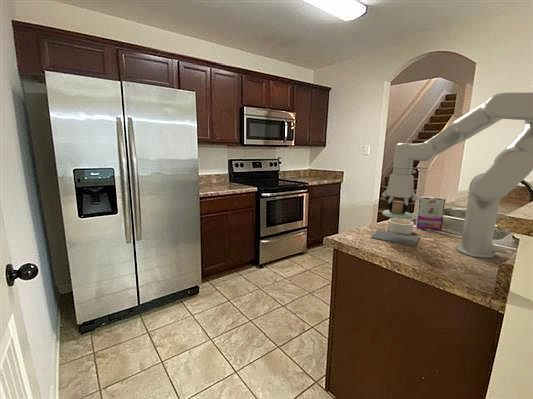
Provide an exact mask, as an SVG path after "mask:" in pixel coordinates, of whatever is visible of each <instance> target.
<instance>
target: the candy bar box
mask: <svg viewBox="0 0 533 399" xmlns="http://www.w3.org/2000/svg"><path fill="white" fill-rule="evenodd" d="M445 204H446V198H444V197H443V196H442V197H441V196H428V195H427V196H425V195H424V196H423V195H418V199H417V210H416V219H415V227H416V229H419V228H420V230H428V229H430V231H431V230H432V231H440V232H441V231H442V228H443V220H444V213H445Z"/></svg>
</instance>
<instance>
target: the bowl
mask: <svg viewBox="0 0 533 399" xmlns="http://www.w3.org/2000/svg"><path fill="white" fill-rule="evenodd" d="M414 224H415V222H414V221H412V220H410V219H397V218H389V219H388V222H387V231H388V232H394V233H400V234H405V235H412V234H413V231H414Z"/></svg>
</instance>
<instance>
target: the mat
mask: <svg viewBox="0 0 533 399" xmlns="http://www.w3.org/2000/svg"><path fill="white" fill-rule="evenodd" d="M371 239H373V240H379V241H383V242H384V241H385V242H389V243H394V244H398V245H404V246H410V247H414V248H416V247H417V246H418V245H417V244H418V242H419V240H418V239H420V236H417V235H416V236H415V235H412V234H409V235H405V234H400V233H394V232H390V231H388V230H380V229H377V230H376V231H375V232H374V233H373V234H372V236H371Z"/></svg>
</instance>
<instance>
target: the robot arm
mask: <svg viewBox="0 0 533 399" xmlns="http://www.w3.org/2000/svg"><path fill="white" fill-rule="evenodd" d="M501 120H519V121H524V126H523V129H522V130H521V131H520V132H519V134H518V135H517V136H516V137H515V138H514V139H513V140H512V141H511V142H510V143H509V144H508V145H507V146H506V147H505V148H504V149H503V150H502V151H501V152H500V153H498V154H497V155H496V157H495V158H494V160H493V164H492V165H491V166H490V167H489V168H488V169H487V170H486V171H484V172H482V173H479V174H476V175H475V176H474V177H473V178H472V179H471V181H470V182H469V186H468V193H467V194H468V195H467V204H466V210H465V215H464V216H465V217H464V220H463V221H464V222H463V228H462V235H461V240H460V243H458V244H455V250H456V251H457V252H459V253H462V254H464V255H467V256H470V257H474V258H481V259H491V258H494V257H496V253H500V254H504V255H507V254H508V248H504V247H503V246H499V245H498V246H497V245H495V244H493V238H494V234H495V228H496V225H497V224H496V223H497V218H498V215H499V214H498V213H499V208H500V200H501V199H503V198H504V197H506V196H507V195H508V194H509V193H510V192H511V191H512V190H513V189H515V187H517V186H518V185H519V184H520V183H521V182H523V180H525V179H526V178H527V177H528V176H529V175H530V174H531V172H532V171H533V92H499V93H496V94H494V95H492V96H491V97H489V98H488V99H487V100H485V101H484V102H482V103H481V104H479V105H478V106H476V107H475V108H473V109H471V110H469V111H468V112H467V113H465V114H464V115H462V116H460V117H458V118H457V119H456V120H454V121H453V122H451V123H450V124H449V125H448V126H447V127H445V128H444V129H443V130H441V131H440V132H439V133H436V135H434V136H432V137H431V138H429V139H428V140H426V141H424V142H421V143H420V142H419V143H412V142H399V143H397V144H396V145H395V147H394V148H395V149H394V157H393V167H392V173H391V174H390V176H389V179H388V183H387V184H388V185H387V188H386V189H385V190H384V191H383V192H382V193H381V196H382V197H383V198H384V199H385V200H386V201H387V203H388V206H387V210H389V212H391V209H392V201H394V198H398V199H399V198H400V199H403V200H404V203H405V205H404V207H403V214H405V213H406V212H408V209H409V208H408V207H409V205H410V204H411V203H413V202H414V201H416V200H417V201H418V198H419V196H418V195H417V194H416V193H415V190H414V186H415V185H414V184H415V177H414V175H412V174H416V173H417V170H416V169H413V166H414V161H418V162H427V161H428V162H429V161H430V160H433V158H434V157H437V156H439V155H440V154H442V153H443V152H445V151H447V150H448V149H450V148H451V147H453V146H455V145H457V144H460V143H463V142H465V141H466V140H469V139H471V138H472V137H473V136H476V135H477V134H479V133H480V132H482V131H484V130H486V129H488V128H489V127H491V126H492V125H494V124H496V123H498V122H500V121H501Z"/></svg>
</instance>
